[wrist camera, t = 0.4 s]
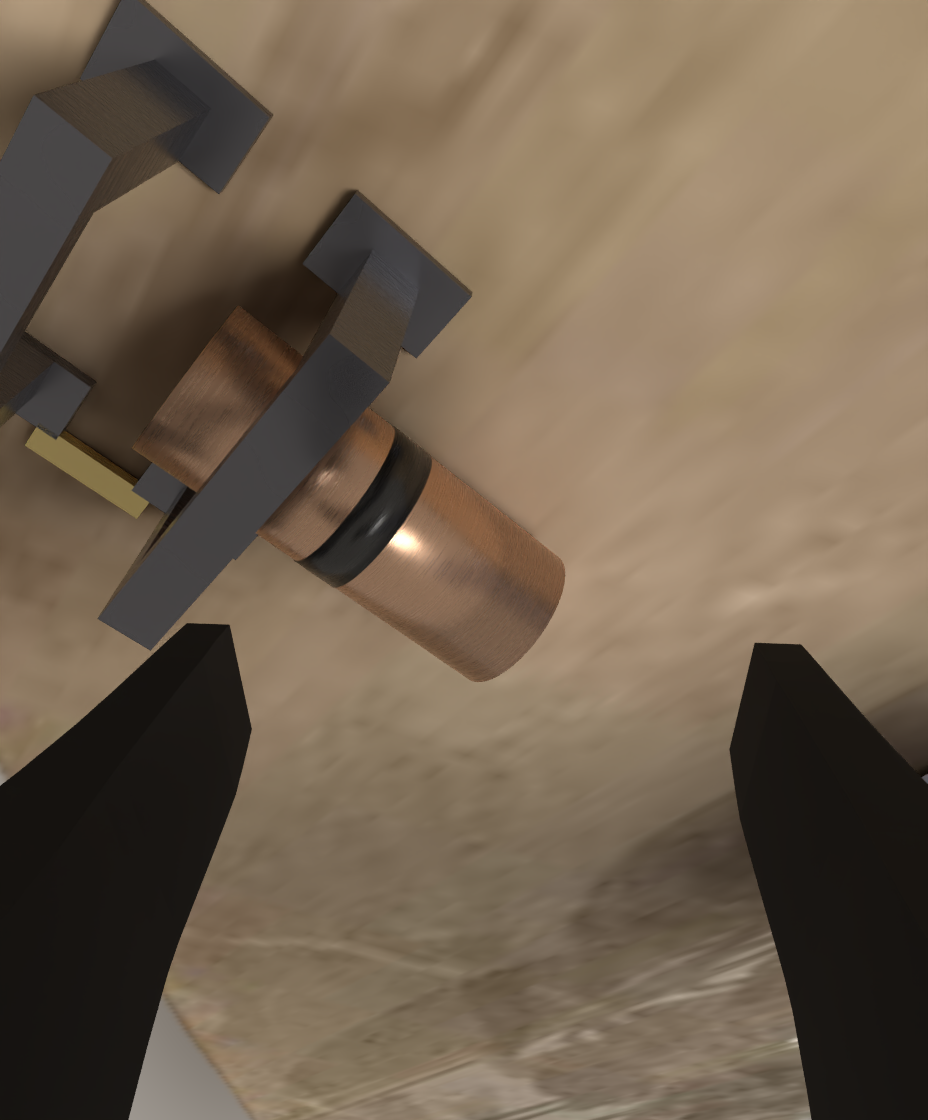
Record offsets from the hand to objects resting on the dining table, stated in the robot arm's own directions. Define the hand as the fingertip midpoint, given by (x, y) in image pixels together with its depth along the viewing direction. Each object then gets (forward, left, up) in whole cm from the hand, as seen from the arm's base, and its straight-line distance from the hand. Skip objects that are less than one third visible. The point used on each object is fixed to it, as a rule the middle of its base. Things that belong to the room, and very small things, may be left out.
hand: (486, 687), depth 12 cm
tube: (+1, +3, -9) cm, 10 cm away
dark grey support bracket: (+4, +3, -9) cm, 10 cm away
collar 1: (+9, +3, -9) cm, 13 cm away
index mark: (+6, +8, -9) cm, 13 cm away
